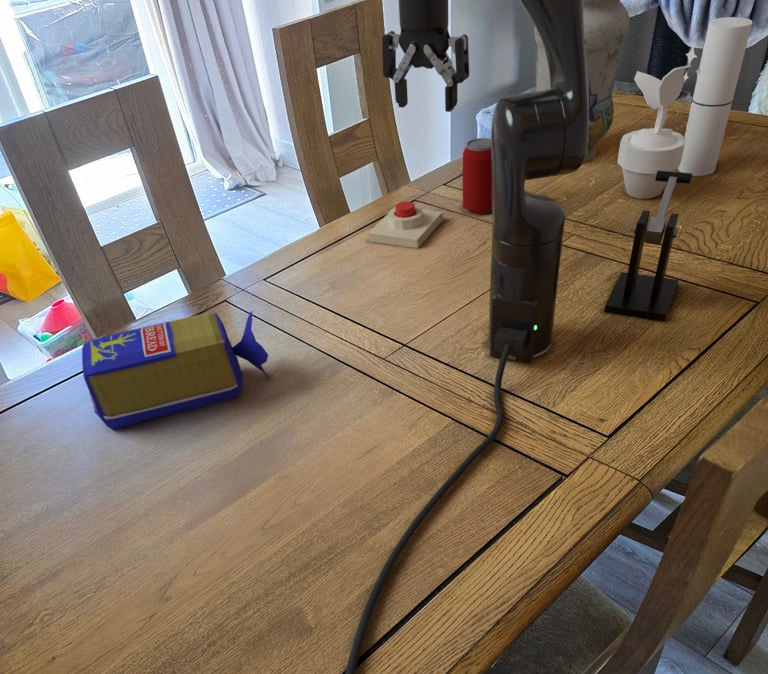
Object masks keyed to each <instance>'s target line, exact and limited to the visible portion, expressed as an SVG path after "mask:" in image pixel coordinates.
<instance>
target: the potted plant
mask: <svg viewBox="0 0 768 674" xmlns="http://www.w3.org/2000/svg"><path fill="white" fill-rule="evenodd" d="M685 55H686V57H687V60H688V61H687V62H688V64H687V65H684V66H678V67H675V68H672V69H671V71H669V72H668V73H667V74H665V75H664V76H663V77H662V79H659V78H657V77H655V76H653V75H650V74H649V73H645V72H641V71H638V70H637V71H636V74H635V75H634V77H633V80H634V82H635V84H636V85H637V87H638V88H639V89H640V91H641V93H642V94H643V97H644V99H645V102H646V104H647V106H648V107H650V109H652V110H653V111H654V110H657V114H656V120H655V124H654V127H652V128H651V127H650V128H641V129H637V130H633V131H631V132H627V133H626V134H624V135H623V136H622V138H621V139H620V143H619V144H620V145H619V148H618V149H619V150H618V155H617V164H618V165H619V166H620V167H621V168H622V175H623V176H622V177H623V182H624V189H625V192H626V194H627V195H628V196H630V197H632V198H634V199H639V200H648V199H649V200H650V199H653V198H655V197H658V196H660V195H661V194H662V192H663V191H664V188H665V187H666V185H667V183H668V182H662V181H655V179H656V174H657V171H670V172H674V170H676V169H678V167H679V166H680V163H681V160H682V155H683V151H684V146H685V141H686V138H685V136H683V134H681V132H677V131H673V128H663V127H664V124H665V121H666V117H667V113H668V111H667V110H668V109H667V106H669V105H672V104H673V103H674V102H676V100H677V99H678V98H679V97H680V95H681V93H682V89H683V87H684V83H685V82H686V80H687V79H689V78H690V77H689V76H688V71H686V69H689V68H691V67H692V64H691V63H692V61H693V59H694V58H698V55H696V54H695V43H692V47H691V49H690V50H689V52H688V53H685ZM685 71H686V72H685ZM695 72H696V78H697V77H698V75H699V73H701V72H702V71H701V70H700V66H699V67H698V68H697V69H696V70H695Z"/></svg>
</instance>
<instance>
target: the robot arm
mask: <svg viewBox="0 0 768 674" xmlns="http://www.w3.org/2000/svg"><path fill="white" fill-rule="evenodd" d="M519 2H520V3H521V6H522V7H523V9H524V10H525V11H526V13H527V15H528V16H529V18H530V20H531V21H532V23H533V25H534V28H535V27H536V29H537V31H538V34H539V36H540V38H541V41H542V44H543V47H544V50H545V54H546V58H547V63H548V69H549V76H550V90H543V91H536V90H535V91H536V92H535V91H530V92H522V93H516V94H510V95H506V96H503V97H502V98H500V99H499V100H498V102H497V103H496V105H495V108H494V110H493V115H492V119H491V133H490V134H491V135H490V137H491V138H490V139H491V152H492V210H491V213H492V215H491V216H492V221H491V222H492V223H491V225H492V226H491V254H490V255H491V257H490V283H489V284H490V285H489V310H488V311H489V312H488V313H489V314H488V336H487V347H488V349H489V357H493V358H497V359H499V362H498V365H497V370H496V374H495V378H494V379H495V380H494V386H493V387H494V388H493V402H494V409H495V413H496V419H495V420H496V421H495V424H494V426H493V428H492V430H491V432H489V435H488V436H487V437H486V438H485V439H484V440H483V441H482V442H481V443H480V444H479V445H478V446H476V448H475V449H474V450H473V451H472V452H471V453H470V454H469V455H468V456H467V457H466V458H465V460H464V461H463V462H462V463H461V464H460V465H459V466H458V467H457V469H456V470H455V471H454V472H453V473H452V474H451V475H450V476H449V478H447V480H446V481H445V482H444V483H443V484H442V485H441V486H440V487H439V488H438V489H437V491H436V492H435V494H434V495H432V497H431V498H430V500H429V501H428V502H427V503H426V504H425V506H423V508H422V509H421V510H420V511H419V513H418V514H417V516H416V517H415V518H414V519H413V521H412V522H411V523H410V525H409V526H408V527H407V529H406V530H405V532H404V533H403V534H402V536H401V538H400V539H399V541H398V542H397V544H396V546H394V548H393V550H392V552H391V553H390V555H389V556H388V558H387V560H386V561H385V563H384V566H383V567H382V569H381V571H380V573H379V575H378V577H377V579H376V581H375V583H374V585H373V588H372V590H371V592H370V594H369V597H368V599H367V600H366V601H367V602H366V604H365V606H364V609H363V611H362V615H361V616H360V620H359V623H358V626H357V630H356V632H355V636H354V640H353V643H352V647H351V650H350V654H349V657H348V661H347V664H346V669H345V673H344V674H356V671H357V666H358V663H359V658H360V654H361V650H362V649H363V648H362V647H363V644H364V641H365V637H366V633H367V630H368V627H369V623H370V621H371V617H372V615H373V613H374V610H375V608H376V604H377V602H378V599H379V597H380V595H381V593H382V590H383V588H384V586H385V583H386V582H387V579H388V577H389V575H390V573H391V571H392V569H393V568H394V566H395V565H396V562H397V560H398V559H399V557H400V556H401V554H402V552H403V551H404V549H405V548H406V547H407V544H408V543H409V541H410V540H411V538H412V537H413V535H414V534H415V533H416V531H417V530H418V528H419V527H420V526H421V524H422V523H423V522H424V520H425V519H426V518H427V516H428V515H429V514H430V513H431V511H433V509H434V508H435V507H436V505H437V504H438V503H439V502H440V501H441V499H442V498H443V497H444V496H445V495H446V493H447V492H448V491H449V490H450V489H451V488H452V486H453V485H454V484H455V483H457V481H458V480H459V479H460V477H462V476H463V474H464V473H465V472H466V471H467V470H468V469H469V467H470V466H471V465H472V464H473V463H474V462H475V460H476V459H478V457H479V456H480V455H482V453H484V452H485V451H486V450H487V449H488V447H490V445H491V444H492V443H493V442H494V441H495V440H496V438H497V437H498V435H499V434H500V433H501V429H502V428H503V424H504V419H505V415H504V409H503V405H502V398H501V393H502V383H503V377H504V372H505V368H506V364H507V361H508V360H509V361H513V362H520V363H525V364H531V363H532V362H533V361H534V360H536V359H540V358H541V357H543V356H545V355H546V354H547V353H549V351H550V350H551V349H552V346H553V330H554V323H555V312H556V304H557V303H556V302H557V294H558V287H559V286H558V285H559V276H560V268H561V258H562V250H563V241H564V231H565V223H566V211H565V209H564V207H563V205H562V204H561V203H559V201H557V200H555V199H553V198H552V197H549V196H546V195H541V194H538V193H533V192H531V191H528V190H525V183H526V181H531V180H538V179H543V178H550V177H556V176H563V175H568V174H572V173H575V172H576V171H578V170H579V169H580V168H581V167H582V166H583V164H584V162H583V161H584V159H585V155H586V152H587V146H588V138H589V107H588V88H587V72H586V56H585V38H584V0H519ZM398 13H399V14H398V16H399V17H398V18H399V27H400V34H399V33H396V32H395V31H394V30H390V31H389V32H387V33H385V34H383V36H382V37H381V39H382V40H381V46H382V47H381V48H382V51H381V52H382V75H383V77H384V78H387V79H388V78H389V79H390V80H392V81H393V82H394V95H395V96H394V97H395V99H394V100H395V103H396V104H397V105H398V107H399V108H405V107H406V106H407V105H408V102H409V100H408V99H409V97H408V79H406V77H407V75H408V73H409V71H410V70H411V68H412V67H413V68H415V69H420V68H424V69H426V70H427V69H428V70H429V69H430V70H432V69H433V68H434V69H435V71H436V73H437V74H438V75H439V76H440V77H441V78H442V79H443V81H444V83H445V84H446V86H445V87H444V98H445V99H444V110H445V112H447V113H450V112H452V111H453V110H454V109H455V107H456V106H457V104H458V84H462V83H463V82H465V80H467V79H468V78H469V77H470V58H469V57H470V54H469V37H468V35H467V34H465V33H464V34H462V35H460V36H451V35H450V33H449V0H398ZM398 47H400V48H401V50H402V52H403V53H404V55H403V57H402V59H401V60H400V62H399V64H398V67H397V50H396V49H398ZM450 47H451V50H452V51H451V52H452V53H453V54H454V55H455V68H454V65H453V61H452V59H451V57H450V56H449V54H448V53H447V51H448V50H449V48H450Z"/></svg>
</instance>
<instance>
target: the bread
mask: <svg viewBox="0 0 768 674" xmlns="http://www.w3.org/2000/svg"><path fill="white" fill-rule="evenodd" d="M252 325H253V310H251V311H250V312H249V313H248V316H247V318H246V322H245V326H244V329H243V335H242V337H241V340H240V341H239V342H237V343H235V345H234V346H233V345H232V343H231V341H230V339H229V336H228V333H227V331H226V328H225V324H224V323H223V321H222V320H221V318H220V315H218V313H216V312H213V313H212V312H205V313H201V314H196V315H192V316H187V317H183V318H179V319H174V320H170V321H165V322H160V323H156V324H151V325H147V326H142V327H138V328H134V329H130V330H127V331H122V332H117V333H114V334H110V335H106V336H101V337H98V338H94V339H91V340H88V341H87V342H86V343H83V345H82V347H81V358H82V359H81V360H82V361H81V363H82V373H83V379H84V382H85V384H86V387H87V389H88V392H89V395H90V396H89V397H90V400H91V403H92V407H93V411H94V413H95V414H96V416H98V417H99V418H100V420H101V421H102V422H103V423H104V424H105V426H106V427H107V428H109V429H110V430H116V429H119V428H124V427H127V426H131V425H135V424H139V423H144V422H147V421H151V420H155V419H158V418H159V419H160V418H163V417H167V416H171V415H175V414H178V413H183V412H186V411H191V410H195V409H198V408H203V407H206V406H211V405H215V404H218V403H222V402H227V401H230V400H234V399H238V398H240V396H241V393H242V388H243V380H244V374H243V372H242V369H241V365H240V362H239V359H238V358H241V359H243V360H245V361H247V362H248V363H250V364H251V365H252V366H253V367H255V368H256V369H258V370H259V371H260V372H261V373H263V374H264V375H265V376H266V377H267V378H270V377H269V374H268V373H267V372H266V371H265V369H264V368H263V366H262V365H263V364H265V363H267V362H268V358H269V354H268V352H267V351H266V349H265V348H264V347H263V346H262V345H261V344H260V343H259V342H258V341H257V340H256V338H255V335H254V333H253V331H252Z"/></svg>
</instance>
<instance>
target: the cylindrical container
mask: <svg viewBox="0 0 768 674" xmlns="http://www.w3.org/2000/svg"><path fill="white" fill-rule="evenodd" d="M752 27H753V20H751V19H750V18H746V17H738V16H727V17H718V18H714V19H712V20H710V21H709V22H708V26H707V31H706V34H705V35H706V36H705V39H704V45H703V49H702V54H701V58H700V63H699V67H700V70H701V71H702V72H701V73H699V75H698V77H697V76H696V81H695V86H694V90H693V95H692V100H691V104H690V109H689V113H688V119H687V124H686V129H685V133H684V137H685V138H686V141H685V146H684V151H683V155H682V160H681V163H680V166H679V167H678V168H677V170H678V172H681V173H692V177H693V176H694V177H698V176H699V177H701V176H703V177H704V176H709V175H712V174H713V173H715V171H716V168H717V164H718V161H719V155H720V151H721V147H722V145H723V140H724V136H725V132H726V128H727V124H728V120H729V117H730V112H731V108H732V105H733V101H734V97H735V93H736V89H737V85H738V81H739V77H740V73H741V70H742V69H741V68H742V65H743V61H744V57H745V53H746V50H747V45H748V41H749V37H750V33H751V30H752Z"/></svg>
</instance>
